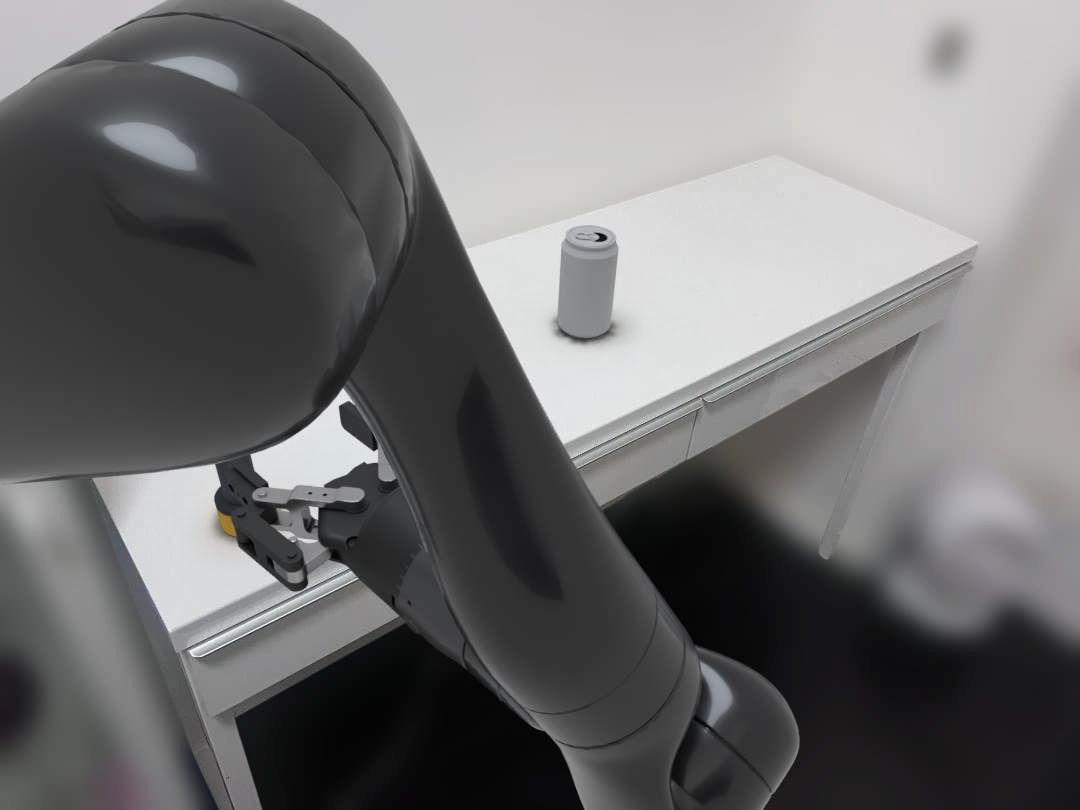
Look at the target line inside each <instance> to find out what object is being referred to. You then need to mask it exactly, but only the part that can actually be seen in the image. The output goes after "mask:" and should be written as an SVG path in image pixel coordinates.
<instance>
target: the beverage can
mask: <svg viewBox="0 0 1080 810" xmlns="http://www.w3.org/2000/svg"><path fill="white" fill-rule="evenodd" d="M564 237H565V238H564V239H563V240H562V242H561V245H560V246H561V248H560V265H559V282H558V283H559V284H558V299H557V301H558V302H557V315H556V316H557V317H556V321H557V326H558V327H559V328H560V329H561V330H562V331H563V332H565V333H566V334H567V335H569V336H571V337H574V338H577V339H592V338H597V337H600V336H601V335H603V334H604V333H607V332H608V331H609V329H610V328H611V324H612V316H613V305H614V296H615V287H616V279H617V277H616V276H617V267H618V260H619V248H620V247H619V245H618V243H617V235H616V234H615V232H613V230H611V229H609V228H607V227H604V226H600V225H594V224H593V225H591V224H584V225H582V224H581V225H577V226H574V227H571V228H569V229H568V230H567V231H565V236H564Z"/></svg>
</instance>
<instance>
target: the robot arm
mask: <svg viewBox="0 0 1080 810" xmlns="http://www.w3.org/2000/svg"><path fill="white" fill-rule="evenodd" d="M487 295H488V294H486V291H485V289H484V288H483V286H482V283H481V281H480V279H479V277H478V275H477V272H476V270H475V268H474V265H473V263H472V261H471V259H470V257H469V255H468V252H467V250H466V248H465V245H464V243H463V240H462V238H461V235H460V234H459V232H458V229H457V226H456V225H455V222H454V220H453V217H452V215H451V212H450V211H449V208H448V207H447V204H446V201H445V199H444V197H443V195H442V192H441V190H440V188H439V185H438V184H437V182H436V179H435V177H434V175H433V173H432V171H431V169H430V166H429V164H428V162H427V160H426V158H425V155H424V153H423V152H422V150H421V148H420V145H419V143H418V140H417V139H416V137H415V135H414V133H413V131H412V129H411V127H410V125H409V123H408V122H407V119H406V118H405V116H404V114H403V111H402V110H401V108H400V106H399V105H398V103H397V101H396V99H395V98H394V96H393V95H392V93H391V92H390V90H389V88H388V86H387V85H386V84H385V82H384V81H383V79H382V77H381V76H380V75H379V73H378V72H377V71H376V69H375V68H374V67H373V66H372V65H371V64H370V62H369V61H368V60H367V59H366V58H365V57H364V56H363V55H362V53H360V51H359V50H358V49H357V48H356V47H355V46H354V45H353V44H352V43H351V42H350V41H349V40H348V39H347V38H345V37H344V36H343V35H342V34H340V33H339V32H338V31H336V30H335V29H334V28H332V27H331V26H330V25H328V24H327V23H326V22H325V21H323V20H322V19H321V18H320V17H318V16H316V15H314V14H312V13H310V12H308V11H306V10H304V9H303V8H300V7H299V6H296V5H295V4H293V3H291V2H289V1H286V0H165V1H163V2H161V3H159V4H157V5H155V6H153V7H151V8H150V9H148V10H146V11H144V12H142V13H140V14H138V15H137V16H135V17H133V18H131V19H129V20H128V21H125V22H124V23H122V24H120V25H119V26H116V27H115V28H114V29H112V30H111V31H109V32H108V33H105V34H104V35H102V36H100V37H98V38H97V39H95V40H94V41H92V42H90V43H89V44H87V45H85V46H84V47H82V48H80V49H79V50H77V51H76V52H74V53H72V54H71V55H69V56H67V57H66V58H64V59H63V60H61V61H59V62H58V63H55V65H53V66H51V67H49V68H48V69H46V70H45V71H42V72H41V73H40V74H38V75H37V76H34V77H33V78H32V79H31V80H30V81H29V82H28V83H26V84H24V85H22V86H21V87H19V88H18V89H16V90H14V91H13V92H11V93H9V94H7V96H5V97H3V98H1V99H0V486H4V485H16V484H28V483H29V484H30V483H43V482H59V481H69V480H70V481H71V480H84V479H98V478H110V477H111V478H112V477H123V476H135V475H147V474H155V473H164V472H170V471H171V472H172V471H179V470H184V469H185V470H186V469H192V468H200V467H201V468H202V467H206V466H207V467H208V466H212V465H215V464H217V463H222V462H227V461H228V462H227V464H228V469H229V470H228V471H226V472H225V474H226V478H227V482H228V485H229V489H230V493H231V494H232V495H233V496H234V497H235V498H236V499H237V500H238V501H239V502H240V503H241V504H242V505H243V506H244V507H240V508H237V509H235V510H234V511H233V512H232V513H231V520H232V524H233V525H234V529H235V532H236V536H237V537H236V543H237V546H238V548H239V549H240V550H242V551H243V552H244V554H246V555H248V556H249V557H250V558H251V559H252V560H253V561H254V562H256V563H257V564H258V565H259V566H260V567H261V568H262V569H265V571H266V572H267V573H269V574H270V575H271V576H272V577H273V578H275V579H276V580H277V581H278V582H279V583H280V584H282V585H283V586H284V587H285V588H287V590H289V591H291V592H294V593H297V592H301V591H303V590H305V589H306V588H307V587H308V586H309V577H308V576H309V574H311V573H312V572H314V571H316V569H318V568H319V567H321V566H322V565H324V564H325V563H326V562H328V561H331V562H333V563H339V564H342V565H344V566H346V567H347V568H348V569H349V570H350V571H351V572H352V573H353V574H354V576H355V577H356V578H357V579H358V580H359V581H360V582H361V583H362V584H364V586H365V587H366V588H367V589H369V590H370V591H371V592H372V593H373V594H374V595H376V597H378V598H379V599H380V600H381V601H382V602H384V603H385V604H386V605H387V606H388V607H389V608H390V609H391V610H392V611H393V612H394V613H396V615H398V616H399V617H400V618H401V619H402V620H403V621H404V622H405V624H406V625H407V626H408V627H409V629H410V630H412V632H414V633H415V634H417V635H420V636H421V637H422V638H423V639H425V641H427V642H428V643H429V644H430V645H432V646H433V647H434V648H435V649H436V650H437V651H439V652H441V653H442V654H443V655H445V656H446V657H448V658H449V659H451V660H452V661H454V662H456V663H457V664H459V665H460V666H461V667H463V668H464V669H465V670H466V671H468V673H469V674H470V675H472V676H473V677H474V678H475V679H476V680H477V681H478V682H480V683H481V684H482V685H483V686H484V687H485V688H486V689H488V691H490V692H491V693H492V694H493V695H494V696H496V698H497V699H498V700H499V701H500V702H502V703H503V704H504V705H506V706H507V707H508V708H509V709H510V710H511V711H512V712H513V713H514V714H516V715H517V716H518V717H519V718H520V719H521V720H523V721H524V722H525V723H526V724H528V725H530V726H531V727H533V728H535V729H536V730H540V731H542V732H545V733H546V734H547V735H548V737H550V738H551V739H552V741H553V742H554V743H555V744H556V745H557V747H558V749H559V750H560V752H561V754H562V756H563V758H564V760H565V762H566V764H567V767H568V770H569V772H570V775H571V778H572V780H573V783H574V786H575V788H576V791H577V794H578V796H579V800H580V802H581V804H582V806H583V809H584V810H764V808H765V807H766V805H767V804H768V802H769V801H770V799H771V798H772V795H773V794H775V792H776V790H777V789H778V788H779V787H780V785H781V783H782V782H783V780H784V779H785V778H786V776H787V774H788V772H789V771H790V769H791V768H792V766H793V765H794V763H795V760H796V758H797V757H798V753H799V751H800V742H801V736H800V729H799V725H798V722H797V719H796V717H795V715H794V712H793V710H792V709H791V707H790V705H789V703H788V701H787V700H786V698H785V697H784V696H783V694H782V693H781V692H780V691H779V689H778V688H777V687H776V686H775V685H774V684H773V683H772V682H771V681H770V680H768V679H767V678H766V677H765V676H764V675H762V674H761V673H759V672H758V671H756V669H753V668H752V667H750V666H748V665H746V664H745V663H742V662H741V661H739V660H736V659H734V658H731V657H730V656H727V655H725V654H723V653H720V652H718V651H714V650H712V649H710V648H706V647H703V646H700V645H697V644H695V643H694V641H693V639H692V637H691V636H690V635H689V633H688V631H687V629H686V628H685V626H684V625H683V624H682V622H681V621H680V619H679V617H677V615H676V614H675V612H674V610H673V609H672V608H671V607H670V605H669V604H668V602H667V601H666V600H665V598H664V596H663V595H662V594H661V593H660V591H659V590H658V588H657V586H656V585H655V584H654V583H653V581H652V580H651V578H650V576H648V574H647V573H646V572H645V570H644V569H643V568H642V566H641V565H640V563H639V562H638V560H637V559H636V557H634V555H633V554H632V552H631V551H630V550H629V548H628V547H627V546H626V545H625V543H624V542H623V541H624V540H622V538H621V537H620V535H619V534H618V532H617V530H616V529H615V528H614V526H613V524H612V523H611V522H610V520H609V518H608V517H607V515H606V513H605V512H604V511H603V509H602V507H601V506H600V505H599V503H598V501H597V500H596V498H595V497H594V495H593V492H591V490H590V488H589V486H588V485H587V483H586V482H585V480H584V477H583V476H582V475H581V473H580V471H579V470H578V468H577V466H576V464H575V463H574V461H573V459H572V458H571V456H570V454H569V453H568V450H567V449H566V447H565V445H564V443H563V441H562V439H561V438H560V436H559V434H558V432H557V430H556V429H555V427H554V425H553V423H552V421H551V419H550V418H549V416H548V414H547V412H546V410H545V408H544V406H543V405H542V403H541V401H540V399H539V397H538V394H537V392H535V389H534V387H533V385H532V383H531V382H530V379H529V378H528V375H527V373H526V371H525V369H524V367H523V366H522V363H521V361H520V359H519V358H518V355H517V353H516V352H515V350H514V347H513V346H512V344H511V343H512V342H511V341H510V340H509V337H508V336H507V334H506V332H505V329H504V327H503V326H502V323H501V322H500V320H499V317H498V316H497V314H496V312H495V309H494V307H493V306H492V303H491V301H490V299H489V298H488V296H487ZM343 390H344V392H345V393H346V394H347V395H348V397H349V399H350V400H351V401H352V402H351V401H350V400H347V401H345V402H343V403H341V404H339V405H338V411H339V412H338V413H339V419H340V421H339V422H340V425H341V427H342V428H343V430H344V431H346V432H347V433H348V434H349V435H351V436H352V437H353V438H355V439H356V440H358V441H359V442H360V443H361V444H363V445H364V446H365V447H367V448H368V449H369V450H370V451H372V452H376V451H377V462H370V463H367V462H366V461H363V462H362V463H360V464H358V465H356V466H354V467H353V468H352V469H351V470H350V471H349V472H348V473H347V474H345V475H341V476H338V477H336V478H333V479H331V480H330V481H328V482H326V483H324V484H323V486H315V485H314V486H313V485H305V484H297V485H295V486H294V487H293V488H292V489H287V488H276V487H270V486H269V482H268V481H267V480H266V479H265V478H264V477H262V476H261V475H260V474H259V473H258V472H257V471H256V470H255V469H254V470H253V469H252V468H251V467H250V466H249V465H248V464H246V463H245V462H244V461H243V460H242V459H241V457H244V456H247V455H250V454H251V455H254V454H256V453H260V452H263V451H265V450H268V449H270V448H272V447H276V446H278V445H280V444H282V443H284V442H286V441H287V440H289V439H291V438H292V437H294V436H295V435H297V434H299V433H300V432H302V431H303V430H305V429H306V428H308V427H309V426H310V425H311V424H313V422H314V421H316V420H317V419H318V418H319V417H320V416H321V415H322V414H323V413H324V412H325V411H326V410H327V409H328V407H330V405H331V404H333V402H334V401H335V400H336V398H337V397H338V396H339V395H340V393H341V392H342V391H343ZM310 507H313V508H317V519H316V518H315V517H313V516H312V512H311V509H310ZM278 509H279V510H278ZM281 509H282V510H281ZM284 510H287V511H284ZM281 532H290V533H292V534H293V535H292V536H290V537H289V538H288V537H286V536H285V535H283V534H282V533H281ZM300 539H304V540H312V541H313V540H314V542H304V541H303V540H300Z"/></svg>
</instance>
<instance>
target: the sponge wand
mask: <svg viewBox="0 0 1080 810" xmlns="http://www.w3.org/2000/svg"><path fill="white" fill-rule="evenodd" d="M241 459H242V460H243V461H244V462H245V463H246V464H248V465H249V466H250V467H251V468H252V469H253V470H254V471H255V467H254V463H253V458H252V454H250V455H247V456H244V457H241ZM227 462H228V461H227ZM227 462H222V463H217V464H214V466H215V470H216V473H217V478H218V480H219V483H220V486H219V487H218V488H217V489H216V491H215V493H214V496H213V501H214V505H215V509H216V511H217V515H218V519H219V522H220V526H221V528H222V530H223V531H224V532H225V534H228V535H229V536H232V537H236V538H237V536H236V532H235V529H234V525H233V524H232V520H231V513H232V512H233V511H234V510H235V509H237V508H240V507H244V506H243V505H242V504H241V503H240V502H239V501H238V500H237V499H236V498H235V497H234V496H233V495H232V494H231V493H230V489H229V485H228V482H227V478H226V474H225V472H226V471H228V470H229V469H228V464H227Z"/></svg>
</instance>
